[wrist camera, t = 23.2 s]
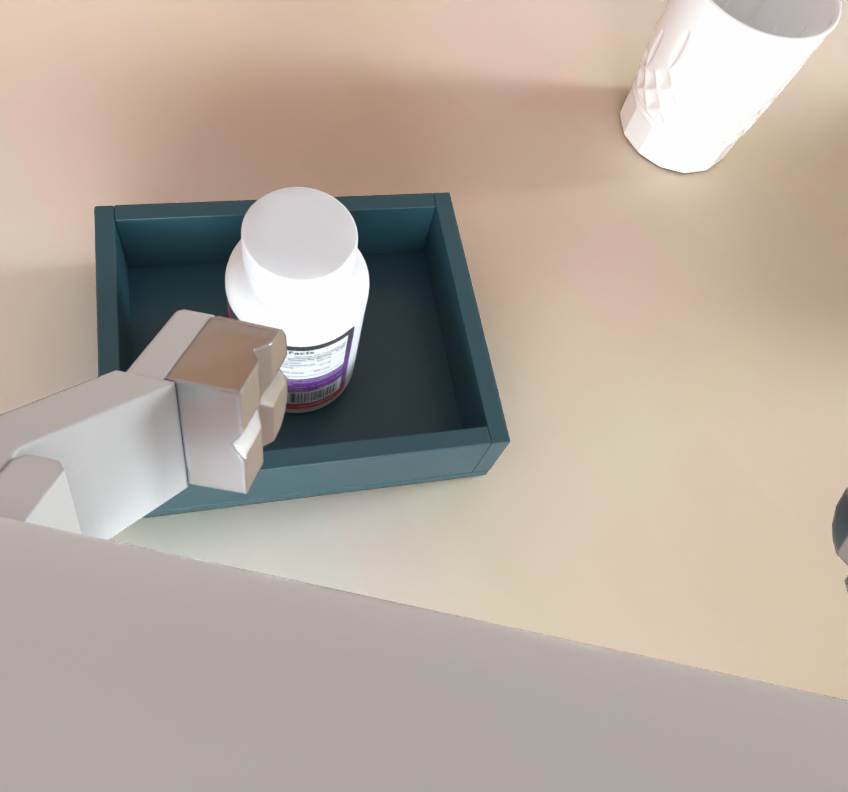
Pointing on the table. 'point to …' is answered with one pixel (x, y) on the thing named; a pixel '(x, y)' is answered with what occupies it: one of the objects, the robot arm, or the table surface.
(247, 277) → the pill bottle
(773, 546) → the table surface
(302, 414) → the tote
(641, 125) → the white cup
